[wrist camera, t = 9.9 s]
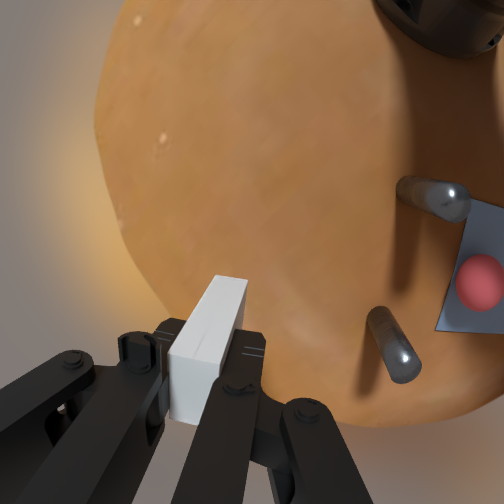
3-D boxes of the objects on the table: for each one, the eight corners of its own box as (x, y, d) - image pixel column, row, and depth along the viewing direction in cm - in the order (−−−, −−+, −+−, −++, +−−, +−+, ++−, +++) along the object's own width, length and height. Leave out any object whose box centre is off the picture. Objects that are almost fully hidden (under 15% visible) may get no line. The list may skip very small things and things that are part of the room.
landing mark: (470, 198, 25) (471, 198, 25) (550, 224, 24) (551, 225, 24) (434, 329, 29) (435, 330, 29) (517, 333, 28) (518, 334, 28)
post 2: (398, 173, 26) (443, 179, 17) (423, 179, 26) (474, 188, 17) (393, 201, 26) (436, 219, 18) (418, 206, 26) (467, 226, 18)
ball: (514, 269, 20) (512, 261, 24) (462, 248, 24) (468, 244, 28) (492, 327, 22) (495, 311, 26) (443, 305, 25) (453, 293, 29)
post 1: (370, 304, 29) (396, 355, 21) (394, 307, 29) (426, 357, 20) (363, 328, 30) (385, 383, 21) (387, 330, 30) (414, 384, 21)
